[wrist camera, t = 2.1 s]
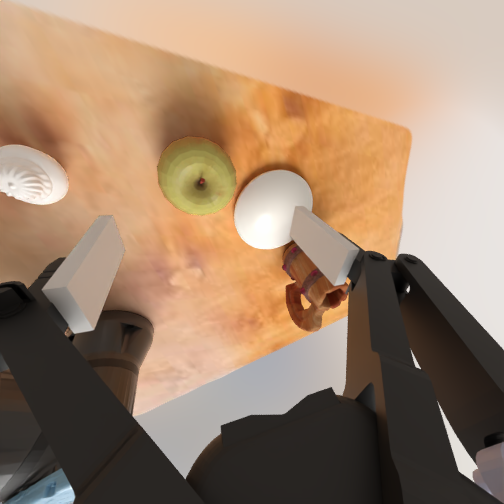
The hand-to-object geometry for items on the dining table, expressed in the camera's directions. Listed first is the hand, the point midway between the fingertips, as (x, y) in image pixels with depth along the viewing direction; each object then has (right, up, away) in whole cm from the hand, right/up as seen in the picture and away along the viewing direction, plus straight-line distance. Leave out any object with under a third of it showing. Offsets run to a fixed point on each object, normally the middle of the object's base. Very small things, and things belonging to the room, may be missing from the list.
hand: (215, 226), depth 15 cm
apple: (-5, +10, +14) cm, 18 cm away
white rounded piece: (-22, +8, +9) cm, 26 cm away
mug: (+11, -4, +31) cm, 33 cm away
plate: (+7, +6, +22) cm, 23 cm away
